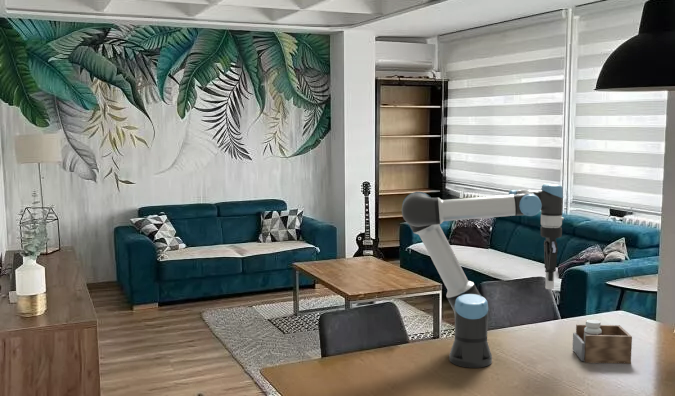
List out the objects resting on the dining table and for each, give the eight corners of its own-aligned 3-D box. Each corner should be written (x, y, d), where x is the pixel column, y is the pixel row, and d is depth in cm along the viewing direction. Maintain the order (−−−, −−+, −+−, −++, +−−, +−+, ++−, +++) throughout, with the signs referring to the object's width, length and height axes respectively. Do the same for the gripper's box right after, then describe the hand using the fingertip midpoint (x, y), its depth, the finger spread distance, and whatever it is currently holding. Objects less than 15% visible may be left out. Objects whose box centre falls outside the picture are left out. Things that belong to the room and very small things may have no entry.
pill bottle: (595, 348, 267) (597, 318, 266) (604, 353, 261) (605, 323, 260) (580, 348, 266) (581, 319, 265) (588, 354, 260) (589, 323, 259)
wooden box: (585, 362, 258) (586, 335, 256) (575, 350, 271) (576, 324, 270) (630, 363, 256) (632, 336, 255) (618, 351, 270) (619, 325, 269)
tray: (581, 360, 258) (582, 343, 257) (572, 349, 271) (573, 332, 270) (626, 361, 257) (627, 344, 256) (615, 350, 270) (615, 333, 269)
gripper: (565, 229, 257) (563, 293, 260) (557, 223, 270) (555, 284, 273) (544, 228, 258) (542, 292, 260) (537, 223, 271) (535, 284, 273)
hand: (549, 288), depth 267 cm, fingers closed
